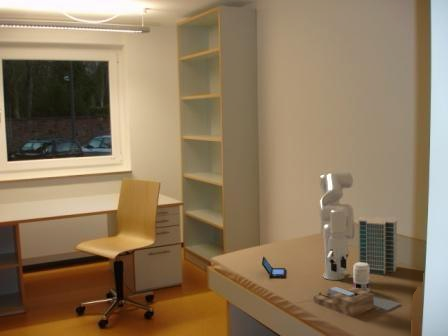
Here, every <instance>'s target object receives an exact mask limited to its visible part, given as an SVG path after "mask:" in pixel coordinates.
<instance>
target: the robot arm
mask: <svg viewBox="0 0 448 336" xmlns="http://www.w3.org/2000/svg"><path fill="white" fill-rule="evenodd" d="M318 181H319V186H320V189H321V192H322V194H323V195H322V197H321V198H320V200H319V202H318V203H319V204H318V213H319V218H320V220H322V221H324V222H329V223H326V224H324V225H323V227H322V234H323V235H322V236H323V243H324V272H323V273H322V278H323V277H324V278H323V279H324V280H325V279H326V280H329V281H341V280H343V279H345V276H346V275H345V274H344V272H345V271H347V270H348V269H347V260H348V257H349V254H350V253H351V252H350V250H349V246H348V244H349V243H348V241H349V240H353V239H354V237H355V216H354V214H355V213H354V208H353V206H352V205H351V204H350V203H349V204H348V203H341V202H340V200H341V199H342V198H343V194H344V191H343V189H350V188H352V187H353V185H354V178H353V175H352V173H350V172H348V171H340V172H339V171H334V172H329V173H324V174H321V175H320V176H319V180H318Z"/></svg>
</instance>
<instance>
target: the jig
mask: <svg viewBox="0 0 448 336" xmlns="http://www.w3.org/2000/svg"><path fill="white" fill-rule="evenodd" d="M330 289H331V288H328V291H326V292H321V291H320V292H318V294H317V295H314V296H313V303H315V304H318V305H320V306H323V307H325V308H328V309H331V310H332V311H336V312H338V313H340V314H344V315H345V316H349V317H351V318H354V317H356V316H358V315H361V314H363V313H365V312H367V310H368V311H370V310H371V309H375V307H374V295H375V294H374V293H372V292H370V291H369V292H366V291H363V290H360V289H357V288H354V287H351V288H348V289H346V290H347V291H350V292H353V293H355V297H349V296H346V295H343V294H340V293H337V294H335V295H332V296H330Z"/></svg>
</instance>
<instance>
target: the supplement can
mask: <svg viewBox="0 0 448 336" xmlns="http://www.w3.org/2000/svg"><path fill="white" fill-rule="evenodd" d="M352 269H353V271H352V274H353V276H352V278H353V287H354V288H357V289H360V290H363V291H366V292H369V293H370V291H371V290H370V289H371V286H370V284H371V281H370V280H371V279H370V277H371V276H370V274H371V273H370V267H369V265H368V264H367V263H365V262H359V261H357V262H356V261H355V263H354V264H353V267H352ZM353 287H352V288H353Z"/></svg>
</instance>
